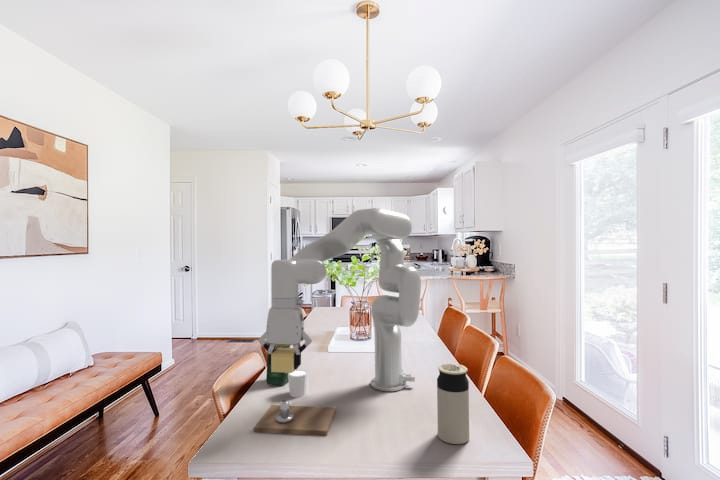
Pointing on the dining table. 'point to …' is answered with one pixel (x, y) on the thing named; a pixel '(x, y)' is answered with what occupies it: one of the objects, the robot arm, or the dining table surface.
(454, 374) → the travel mug
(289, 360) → the tan cardboard cube
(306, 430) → the board
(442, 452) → the dining table surface
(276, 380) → the coffee jar
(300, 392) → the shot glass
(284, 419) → the stub
